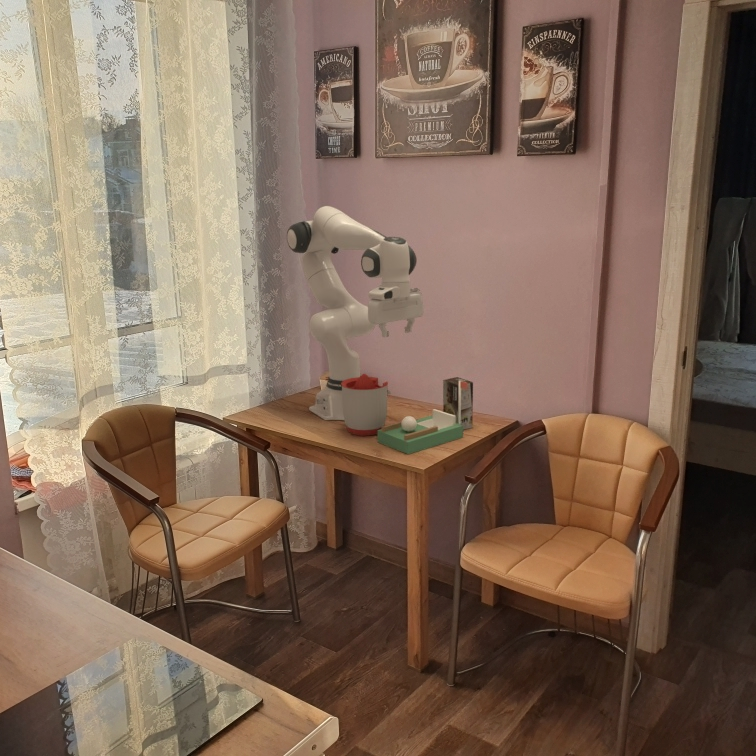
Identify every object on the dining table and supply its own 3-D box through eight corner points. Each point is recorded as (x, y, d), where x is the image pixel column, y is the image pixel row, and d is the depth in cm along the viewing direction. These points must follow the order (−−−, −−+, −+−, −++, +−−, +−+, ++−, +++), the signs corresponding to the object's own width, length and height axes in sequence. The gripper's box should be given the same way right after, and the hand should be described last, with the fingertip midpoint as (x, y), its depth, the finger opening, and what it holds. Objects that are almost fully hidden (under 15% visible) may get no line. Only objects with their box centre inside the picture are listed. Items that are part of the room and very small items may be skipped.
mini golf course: (377, 442, 252) (376, 385, 247) (431, 426, 267) (431, 372, 262) (412, 456, 239) (412, 396, 234) (467, 438, 254) (468, 382, 249)
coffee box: (473, 427, 265) (474, 382, 260) (458, 431, 261) (458, 385, 257) (457, 420, 272) (457, 376, 268) (442, 424, 269) (442, 379, 265)
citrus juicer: (401, 431, 262) (401, 374, 257) (358, 441, 253) (356, 382, 248) (376, 419, 275) (375, 365, 270) (333, 429, 265) (332, 372, 260)
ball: (398, 431, 250) (397, 416, 249) (409, 427, 253) (409, 413, 252) (408, 435, 246) (408, 420, 245) (420, 431, 249) (420, 416, 248)
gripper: (414, 286, 249) (414, 328, 252) (364, 293, 236) (365, 337, 240) (427, 287, 244) (428, 331, 248) (377, 295, 232) (378, 340, 235)
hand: (397, 334), depth 244 cm, fingers open, 8 cm apart
